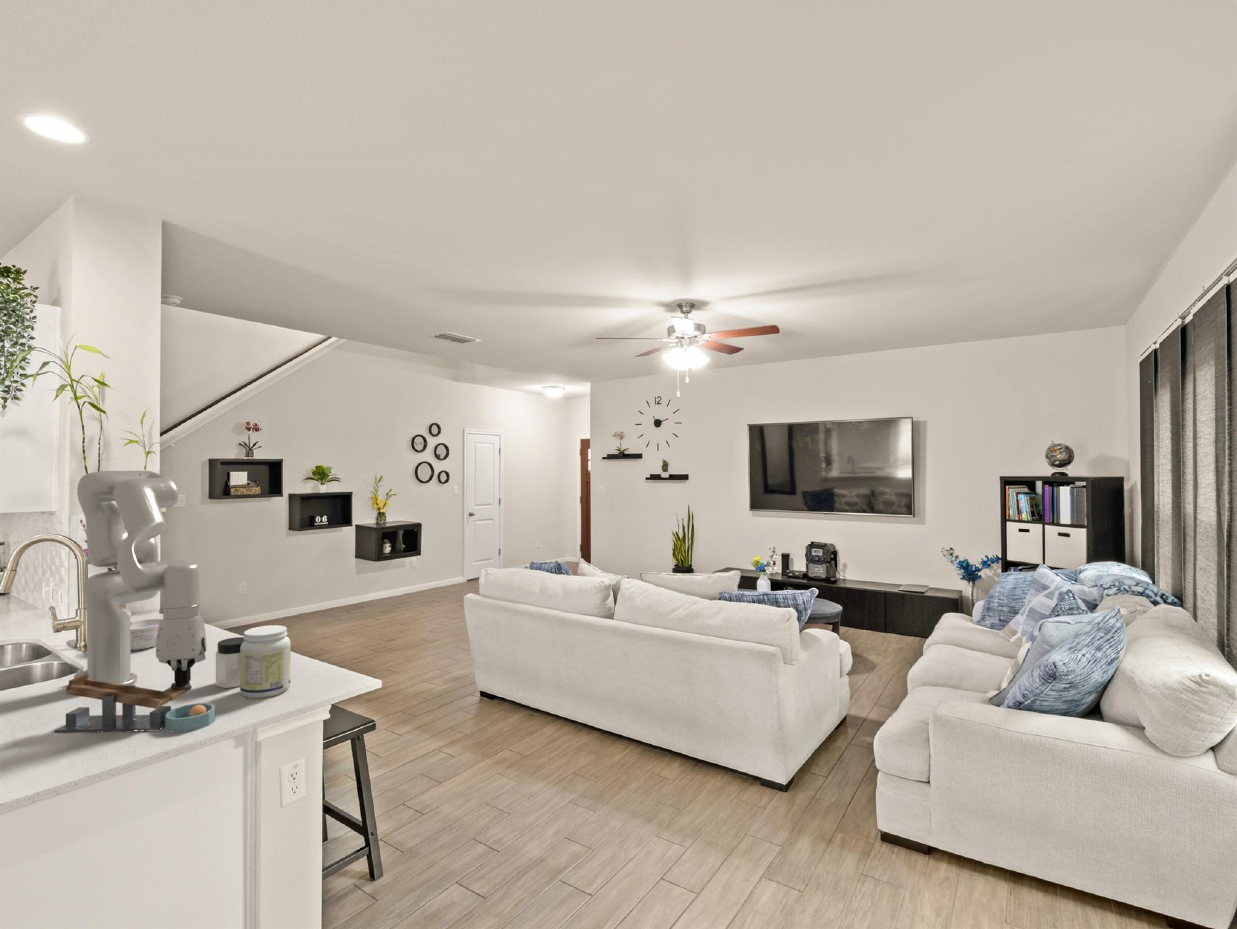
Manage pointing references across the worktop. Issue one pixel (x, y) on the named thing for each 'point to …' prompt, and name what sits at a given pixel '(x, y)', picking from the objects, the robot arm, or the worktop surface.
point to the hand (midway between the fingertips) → (182, 684)
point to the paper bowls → (143, 633)
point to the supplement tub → (265, 662)
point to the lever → (124, 692)
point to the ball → (197, 710)
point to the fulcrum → (113, 718)
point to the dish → (189, 718)
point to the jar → (228, 662)
